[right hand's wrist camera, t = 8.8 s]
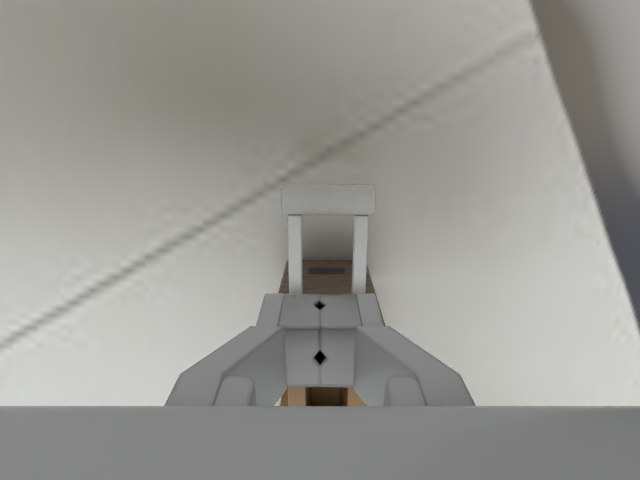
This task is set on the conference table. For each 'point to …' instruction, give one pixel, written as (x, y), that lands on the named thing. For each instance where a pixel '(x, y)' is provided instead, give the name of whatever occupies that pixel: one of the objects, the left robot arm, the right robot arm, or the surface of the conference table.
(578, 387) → the conference table surface
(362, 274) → the drawer
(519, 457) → the right robot arm
